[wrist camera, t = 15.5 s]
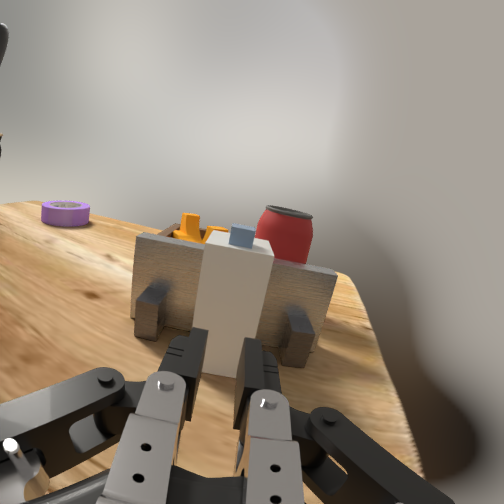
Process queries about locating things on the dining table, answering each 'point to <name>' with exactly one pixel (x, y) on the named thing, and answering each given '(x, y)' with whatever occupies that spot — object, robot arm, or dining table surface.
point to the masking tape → (65, 213)
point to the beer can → (286, 233)
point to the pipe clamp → (193, 229)
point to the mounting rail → (186, 286)
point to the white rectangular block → (231, 294)
